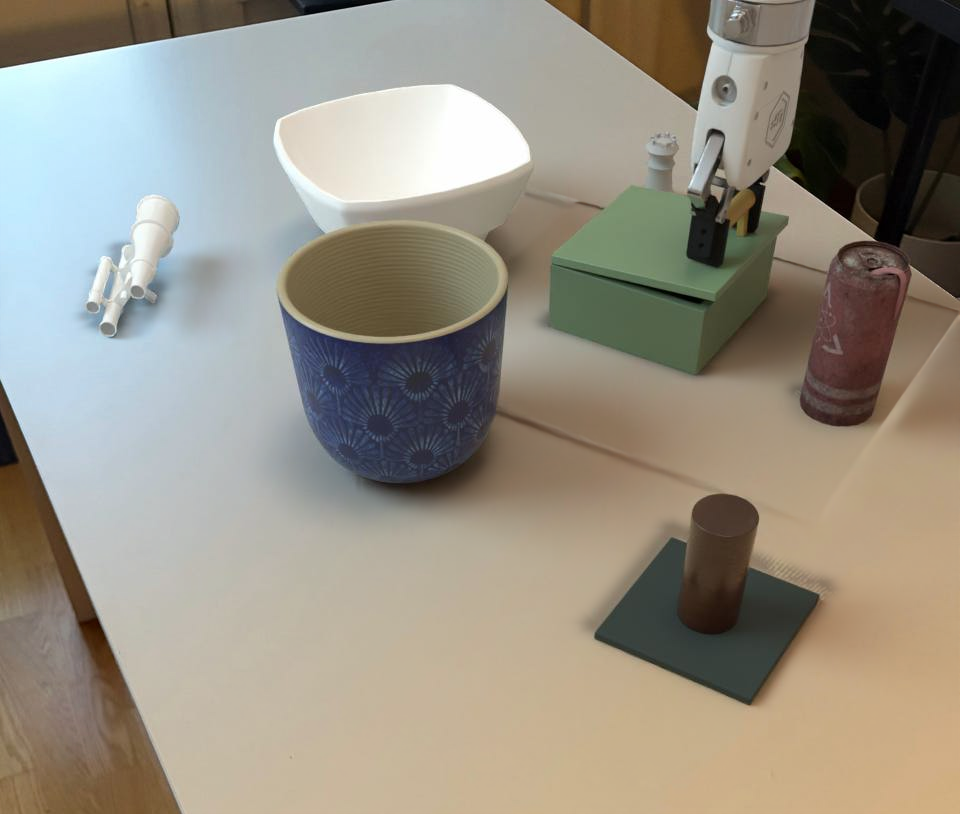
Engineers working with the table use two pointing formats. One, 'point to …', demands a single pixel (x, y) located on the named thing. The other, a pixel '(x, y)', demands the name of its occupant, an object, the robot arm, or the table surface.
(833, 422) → the can
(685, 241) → the lid
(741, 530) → the brown cylinder
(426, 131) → the bowl
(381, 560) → the table surface
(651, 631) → the mat
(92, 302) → the white plastic piece
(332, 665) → the table surface
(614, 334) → the box
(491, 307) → the planter
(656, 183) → the rook chess piece
